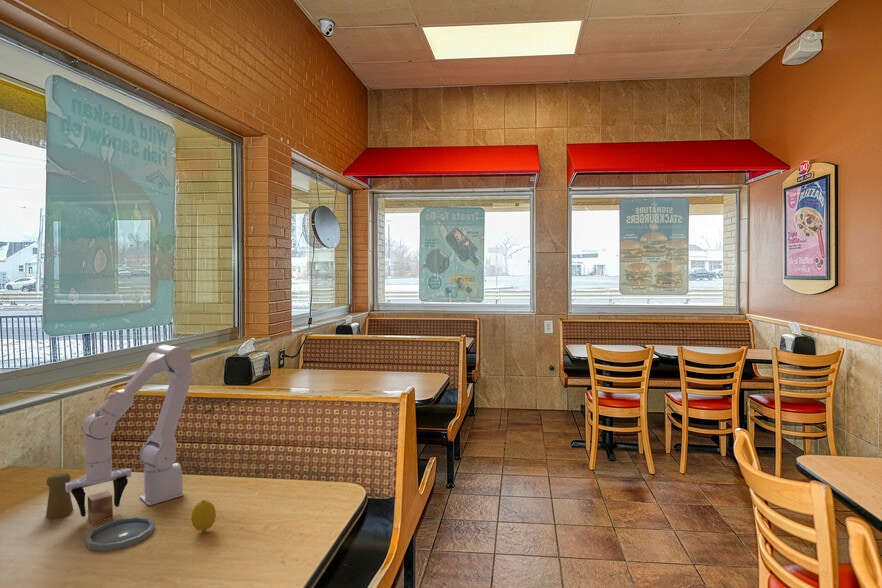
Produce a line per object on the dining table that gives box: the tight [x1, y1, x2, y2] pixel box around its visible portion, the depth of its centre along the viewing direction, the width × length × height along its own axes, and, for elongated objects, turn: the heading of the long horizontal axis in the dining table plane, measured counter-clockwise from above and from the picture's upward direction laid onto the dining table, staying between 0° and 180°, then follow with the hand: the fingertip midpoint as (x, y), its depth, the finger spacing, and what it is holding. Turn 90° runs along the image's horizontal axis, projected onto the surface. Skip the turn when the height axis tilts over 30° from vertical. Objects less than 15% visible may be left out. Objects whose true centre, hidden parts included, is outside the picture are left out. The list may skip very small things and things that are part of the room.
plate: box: [84, 516, 155, 552], centre depth 128 cm, size 14×14×1 cm
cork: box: [45, 471, 74, 520], centre depth 140 cm, size 6×6×11 cm
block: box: [87, 490, 114, 524], centre depth 137 cm, size 5×5×6 cm
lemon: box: [190, 499, 217, 533], centre depth 129 cm, size 6×6×8 cm
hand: (100, 510), depth 137 cm, fingers open, 7 cm apart
